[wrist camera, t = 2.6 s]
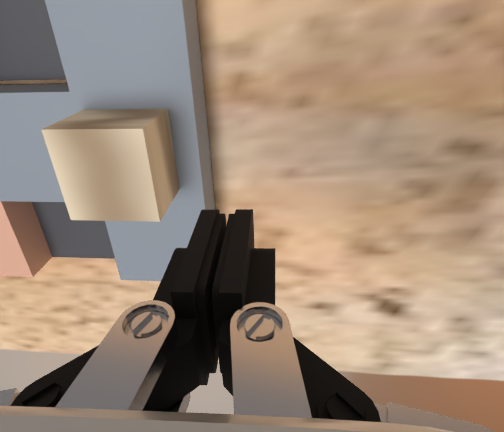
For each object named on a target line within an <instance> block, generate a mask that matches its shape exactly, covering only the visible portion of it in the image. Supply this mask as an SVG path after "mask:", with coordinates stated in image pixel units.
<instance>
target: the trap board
mask: <svg viewBox="0 0 504 432" xmlns="http://www.w3.org/2000/svg"><path fill="white" fill-rule="evenodd" d="M51 79H66V80H67V83H53V84H3V85H0V276H21V277H33V276H34V275H35V274H36V273H37V272H38V271H39V270H40V269H41V268H42V267H43V266H44V265H45V264H46V263H47V262H48V261H49V260H50V259H51V258H52V257H79V258H115V260H116V263H117V267H118V271H119V275H120V278H121V280H144V281H161V280H162V278H163V276H164V273H165V271H166V269H167V266H168V264H169V262H170V259H171V257H172V255H173V252H174V250H175V249H176V248H187V246H188V244H189V241H190V238H191V236H192V233H193V230H194V228H195V225H196V222H197V220H198V217H199V215H200V212H201V210H215V200H214V189H213V179H212V168H211V158H210V147H209V136H208V126H207V115H206V104H205V94H204V83H203V72H202V62H201V51H200V41H199V30H198V19H197V9H196V0H0V81H4V80H51ZM103 109H168V114H169V120H170V127H171V134H172V141H173V148H174V155H175V162H176V168H177V175H178V182H179V189H180V190H179V191H178V193H177V194H176V196H175V198H174V199H173V201H172V203H171V204H170V206H169V208H168V209H167V211H166V212H165V214H164V216H163V217H162V219H161V221H160V222H152V221H93V220H71V219H70V216H69V213H68V210H67V207H66V204H65V201H64V198H63V195H62V192H61V189H60V185H59V182H58V179H57V176H56V173H55V170H54V167H53V164H52V161H51V158H50V155H49V152H48V149H47V146H46V143H45V140H44V136H43V133H42V130H41V129H43V128H46V127H48V126H50V125H52V124H54V123H56V122H58V121H60V120H62V119H64V118H67V117H69V116H71V115H73V114H75V113H77V112H79V111H81V110H103Z"/></svg>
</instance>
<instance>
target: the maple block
mask: <svg viewBox="0 0 504 432" xmlns="http://www.w3.org/2000/svg"><path fill="white" fill-rule="evenodd" d="M41 130H42V133H43V136H44V140H45V143H46V146H47V149H48V152H49V155H50V158H51V161H52V164H53V167H54V170H55V173H56V176H57V179H58V182H59V185H60V189H61V192H62V195H63V198H64V201H65V204H66V207H67V210H68V213H69V216H70V219H71V220H93V221H152V222H160V221H161V219H162V217H163V216H164V214H165V212H166V211H167V209H168V208H169V206H170V204H171V203H172V201H173V199H174V198H175V196H176V194H177V193H178V191H179V190H180V189H179V182H178V175H177V168H176V162H175V155H174V148H173V141H172V134H171V127H170V120H169V114H168V109H103V110H81V111H79V112H77V113H75V114H73V115H71V116H69V117H67V118H64V119H62V120H60V121H58V122H56V123H54V124H52V125H50V126H48V127H46V128H43V129H41Z"/></svg>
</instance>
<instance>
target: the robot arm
mask: <svg viewBox="0 0 504 432" xmlns="http://www.w3.org/2000/svg"><path fill="white" fill-rule="evenodd" d="M218 357H219V364H220V372H221V373H222V376H223V385H224V387H225V388H226V389H227V390H228V391H229V392H230V393H231V395H232V396H233V399H234V415H231V414H209V413H186V410H187V407H188V405H189V401H190V392H191V391H193V390H194V389H195V388H197V387H198V386H199V385H207V383H208V378H209V373H216V369H217V363H218ZM0 432H494V431H492V430H491V429H488V428H486V427H483V426H481V425H478V424H475V423H471V422H467V421H463V420H459V419H455V418H451V417H447V416H443V415H439V414H435V413H431V412H427V411H423V410H419V409H415V408H411V407H407V406H403V405H399V404H395V403H391V402H388V404H387V406H384V405H380V404H376V403H373V401H372V400H371V399H370V398H369V397H368V396H367V395H366V394H365V393H364V392H363V391H362V390H360V389H359V388H358V387H356V386H355V385H354V384H353V383H351V382H350V381H349V380H347V379H346V378H345V377H344V376H342V375H341V374H340V373H339V372H337V371H336V370H335V369H333V368H332V367H331V366H330V365H328V364H327V363H326V362H325V361H323V360H322V359H321V358H319V357H318V356H317V355H316V354H314V353H313V352H312V351H310V350H309V349H308V348H307V347H305V346H304V345H303V344H302V343H300V342H299V341H298V340H296V339H295V338H294V337H293V336H292V331H291V327H290V323H289V320H288V317H287V315H286V314H285V313H284V311H283V310H282V309H281V308H279V307H277V306H275V249H264V248H254V225H253V210H236V211H235V214H229V218H228V222H227V226H226V217H225V214H220V213H219V210H201V212H200V215H199V217H198V220H197V222H196V225H195V228H194V230H193V233H192V236H191V238H190V241H189V244H188V246H187V248H176V249H175V250H174V252H173V255H172V257H171V259H170V262H169V264H168V266H167V269H166V271H165V273H164V276H163V278H162V280H161V283H160V285H159V287H158V290H157V292H156V294H155V297H154V299H153V300H149V301H144V302H140V303H138V304H135V305H133V306H131V307H130V308H128V309H127V310H125V311H124V312H123V314H122V315H121V316H120V317H119V318H118V320H117V321H116V322H115V324H114V325H113V327H112V328H111V329H110V331H109V332H108V334H107V335H106V336H105V338H104V339H103V341H102V342H101V343H100V345H99V346H97V347H95V348H93V349H91V350H90V351H88V352H86V353H84V354H83V355H81V356H79V357H77V358H75V359H74V360H72V361H70V362H69V363H67V364H65V365H63V366H61V367H59V368H58V369H56V370H54V371H52V372H51V373H49V374H47V375H45V376H43V377H42V378H40V379H38V380H36V381H35V382H33V383H32V384H30V385H29V386H27V387H26V388H25V389H24V390H23V391H22V392H18V390H17V389H16V388H14V389H8V390H3V391H0Z"/></svg>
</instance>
